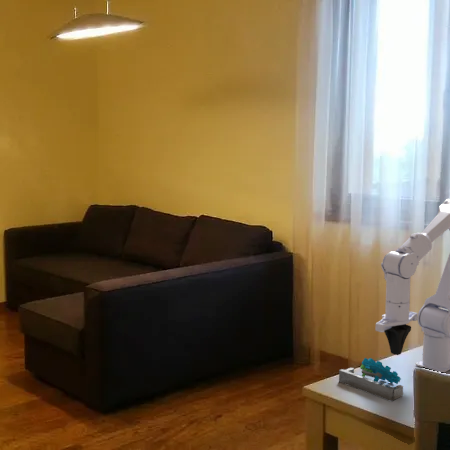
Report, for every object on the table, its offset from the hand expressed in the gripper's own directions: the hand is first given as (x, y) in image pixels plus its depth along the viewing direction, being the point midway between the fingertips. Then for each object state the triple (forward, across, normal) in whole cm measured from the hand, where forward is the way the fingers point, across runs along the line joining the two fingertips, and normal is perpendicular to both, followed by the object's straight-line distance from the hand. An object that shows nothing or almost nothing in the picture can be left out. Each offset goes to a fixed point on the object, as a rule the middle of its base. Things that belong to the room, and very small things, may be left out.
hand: (395, 353), depth 170 cm
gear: (+7, +6, 0) cm, 9 cm away
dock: (+6, +10, 0) cm, 12 cm away
